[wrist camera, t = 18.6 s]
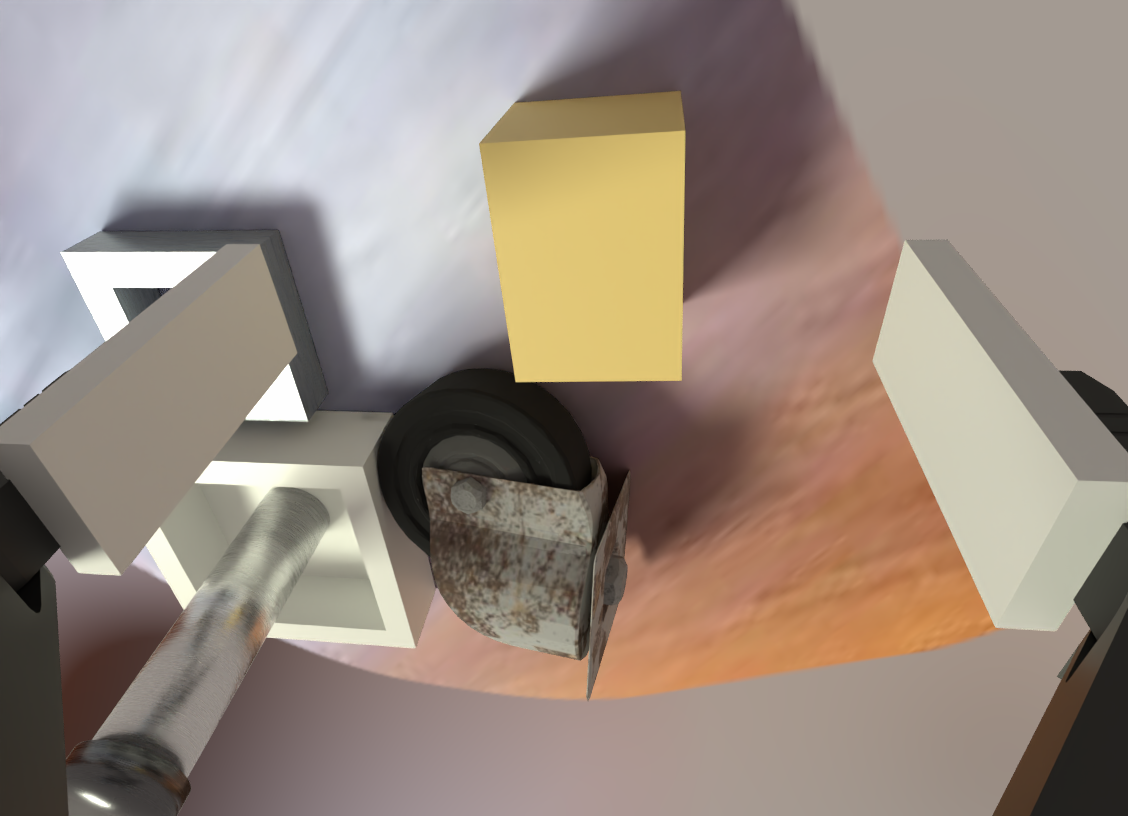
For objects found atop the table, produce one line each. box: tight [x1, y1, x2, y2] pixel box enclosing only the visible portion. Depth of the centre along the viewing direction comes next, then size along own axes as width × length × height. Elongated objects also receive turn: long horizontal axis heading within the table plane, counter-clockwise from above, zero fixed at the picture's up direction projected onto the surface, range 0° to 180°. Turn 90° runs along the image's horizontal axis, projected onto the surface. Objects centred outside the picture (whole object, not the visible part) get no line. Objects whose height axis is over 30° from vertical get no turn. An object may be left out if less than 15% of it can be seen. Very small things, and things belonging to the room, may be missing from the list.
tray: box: [146, 411, 436, 648], centre depth 30 cm, size 11×11×4 cm
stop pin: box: [66, 487, 330, 816], centre depth 26 cm, size 4×4×13 cm
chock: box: [479, 91, 685, 382], centre depth 20 cm, size 7×5×5 cm
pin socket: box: [61, 230, 328, 422], centre depth 25 cm, size 7×7×2 cm
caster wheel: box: [378, 369, 631, 700], centre depth 27 cm, size 7×11×10 cm
